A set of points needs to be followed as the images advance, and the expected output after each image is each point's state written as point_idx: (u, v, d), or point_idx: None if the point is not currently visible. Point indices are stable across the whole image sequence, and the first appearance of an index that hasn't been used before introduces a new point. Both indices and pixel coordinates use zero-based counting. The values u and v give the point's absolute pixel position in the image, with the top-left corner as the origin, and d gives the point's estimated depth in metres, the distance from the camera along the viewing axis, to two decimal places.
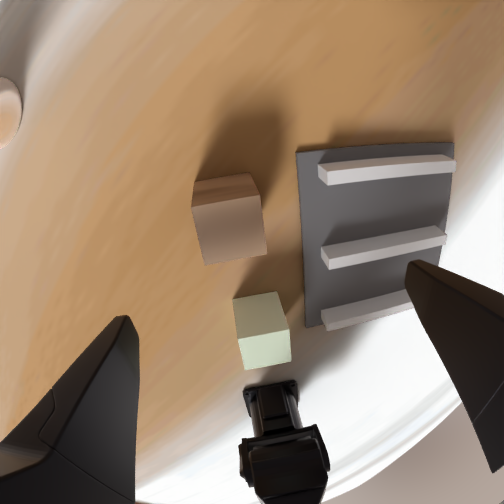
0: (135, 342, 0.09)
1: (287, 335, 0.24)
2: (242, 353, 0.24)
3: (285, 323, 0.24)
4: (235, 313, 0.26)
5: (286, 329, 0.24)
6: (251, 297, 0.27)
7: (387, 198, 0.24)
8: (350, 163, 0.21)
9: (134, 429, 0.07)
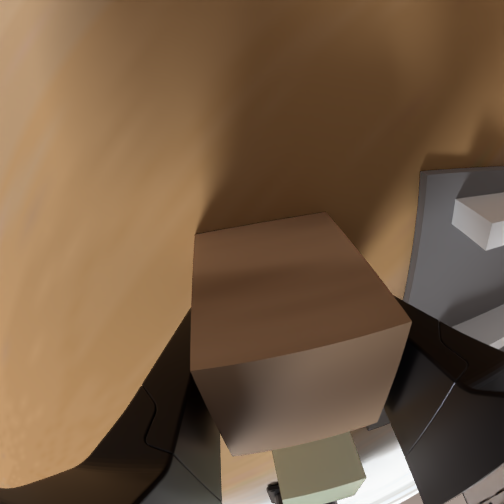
0: None
1: (360, 482, 0.11)
2: None
3: (359, 466, 0.11)
4: None
5: (361, 477, 0.11)
6: None
7: None
8: None
9: None
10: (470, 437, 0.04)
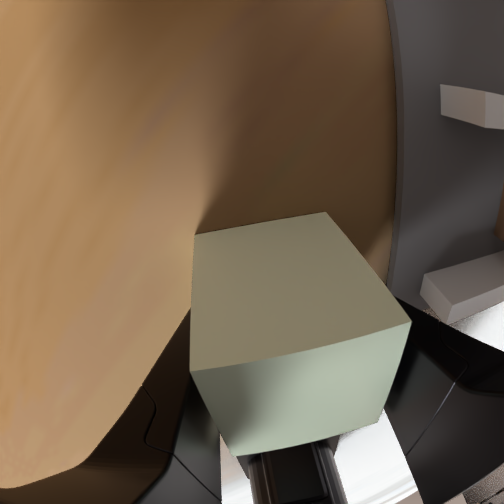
0: None
1: (397, 347, 0.05)
2: (218, 419, 0.06)
3: (388, 299, 0.06)
4: (196, 271, 0.07)
5: (400, 322, 0.05)
6: (252, 228, 0.09)
7: None
8: None
9: None
10: (470, 437, 0.04)
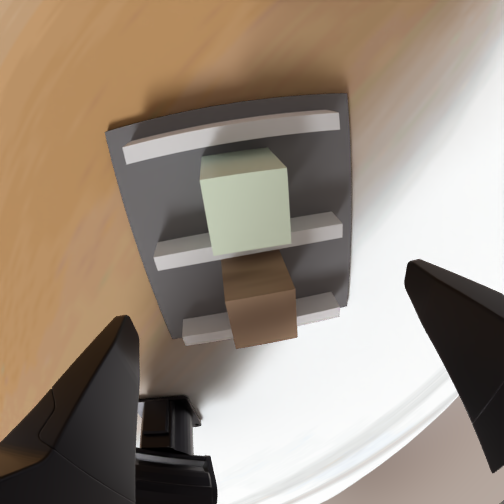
0: (135, 342, 0.09)
1: (284, 181, 0.14)
2: (207, 214, 0.15)
3: (280, 164, 0.15)
4: (202, 164, 0.16)
5: (282, 168, 0.14)
6: (229, 153, 0.18)
7: None
8: (165, 134, 0.16)
9: (134, 429, 0.07)
10: None
